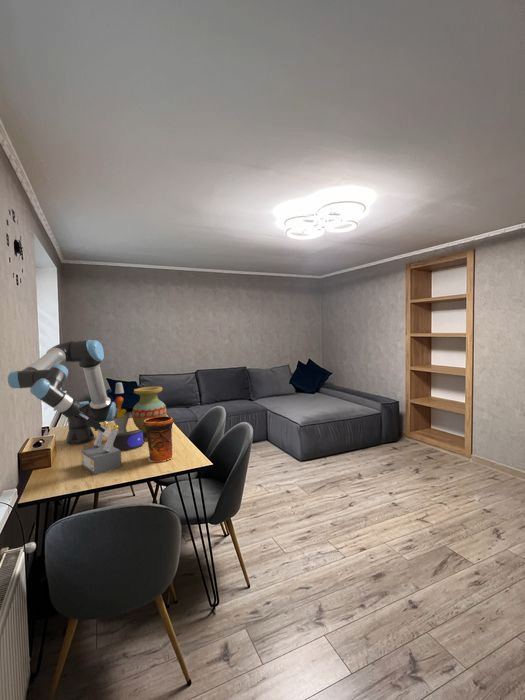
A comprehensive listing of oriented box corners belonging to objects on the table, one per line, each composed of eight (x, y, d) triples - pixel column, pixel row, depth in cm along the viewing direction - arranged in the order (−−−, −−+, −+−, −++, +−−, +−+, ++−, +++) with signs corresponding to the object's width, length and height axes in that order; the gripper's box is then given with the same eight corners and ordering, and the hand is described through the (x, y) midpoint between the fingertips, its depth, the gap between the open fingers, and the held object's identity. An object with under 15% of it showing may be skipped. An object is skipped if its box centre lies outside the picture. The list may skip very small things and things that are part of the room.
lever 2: (102, 450, 161) (113, 423, 165) (106, 451, 163) (117, 425, 166) (104, 452, 159) (115, 424, 163) (109, 453, 161) (120, 426, 164)
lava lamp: (119, 444, 198) (115, 384, 196) (111, 442, 203) (107, 383, 201) (133, 440, 205) (130, 381, 203) (125, 437, 211) (121, 381, 209)
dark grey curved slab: (115, 453, 183) (114, 436, 182) (113, 451, 186) (111, 434, 186) (145, 446, 193) (144, 430, 192) (143, 444, 196) (142, 428, 196)
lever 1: (92, 445, 170) (103, 420, 173) (97, 446, 171) (107, 421, 175) (95, 446, 167) (105, 421, 171) (99, 447, 169) (110, 422, 173)
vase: (132, 436, 214) (129, 388, 212) (165, 431, 222) (163, 385, 220) (134, 445, 196) (131, 392, 194) (170, 439, 203) (167, 389, 202)
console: (80, 466, 167) (79, 450, 166) (107, 458, 176) (106, 443, 175) (94, 475, 155) (92, 457, 154) (121, 466, 164) (120, 450, 163)
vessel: (144, 465, 164) (142, 423, 164) (146, 455, 178) (144, 417, 178) (175, 461, 168) (173, 420, 168) (175, 452, 182) (173, 414, 181)
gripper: (56, 411, 152) (97, 438, 165) (65, 415, 143) (109, 444, 155) (68, 397, 155) (108, 425, 168) (78, 400, 146) (119, 429, 159)
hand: (108, 434), depth 162 cm, fingers closed
